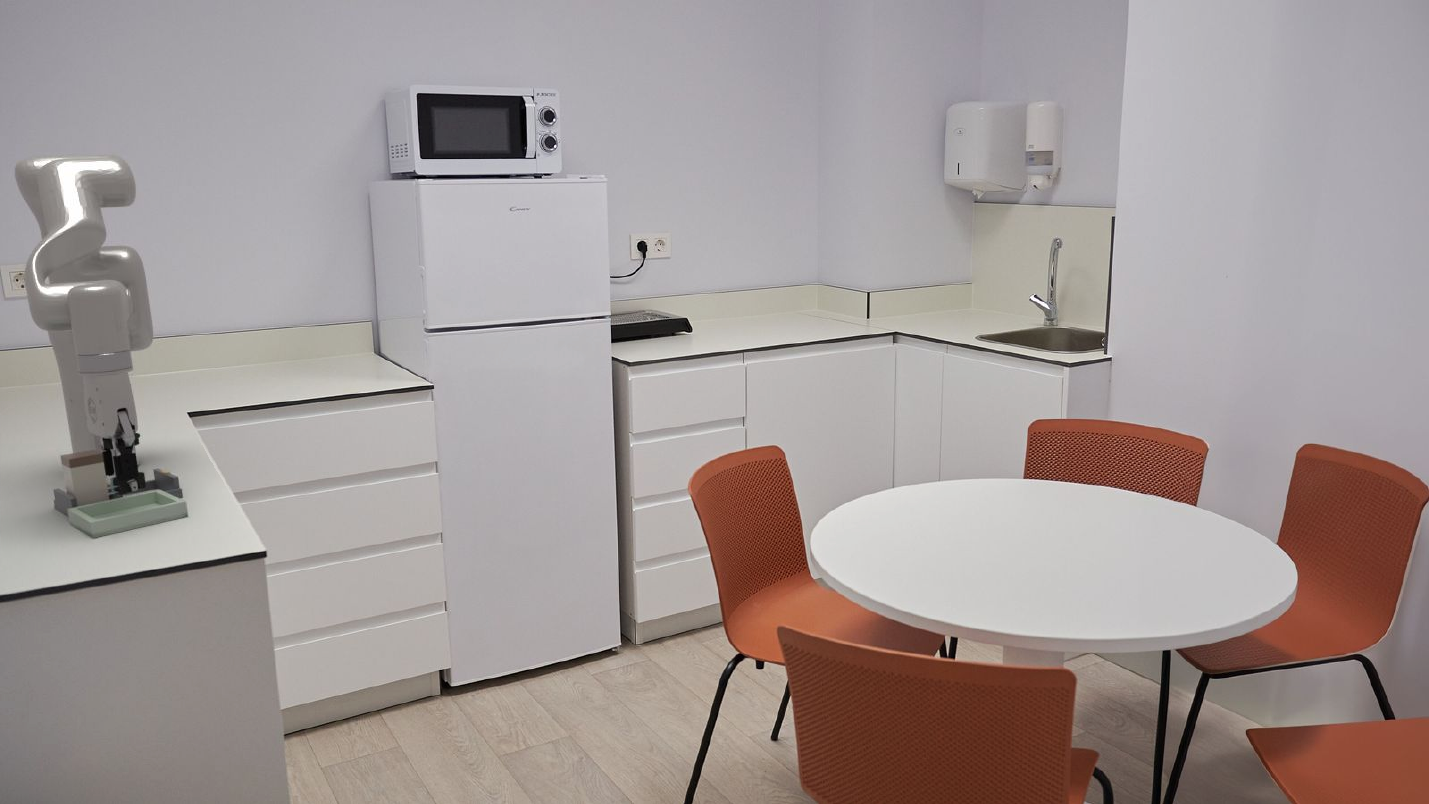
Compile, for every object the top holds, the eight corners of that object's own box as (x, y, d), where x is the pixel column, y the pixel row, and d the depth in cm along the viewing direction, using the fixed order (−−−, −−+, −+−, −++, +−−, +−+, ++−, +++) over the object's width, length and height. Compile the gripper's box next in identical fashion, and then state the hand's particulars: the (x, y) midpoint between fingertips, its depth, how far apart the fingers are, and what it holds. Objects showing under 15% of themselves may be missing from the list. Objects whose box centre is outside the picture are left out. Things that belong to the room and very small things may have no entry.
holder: (54, 508, 186) (51, 486, 185) (158, 486, 197) (155, 466, 197) (75, 520, 178) (72, 498, 177) (183, 497, 189) (180, 476, 188)
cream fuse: (69, 510, 184) (60, 455, 182) (102, 503, 188) (93, 449, 186) (77, 515, 181) (68, 459, 179) (111, 508, 184) (102, 453, 183)
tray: (69, 523, 176) (67, 508, 175) (161, 503, 186) (159, 489, 185) (93, 538, 168) (90, 522, 167) (188, 516, 177) (186, 501, 177)
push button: (120, 499, 172) (111, 436, 170) (94, 496, 173) (85, 435, 171) (154, 487, 178) (146, 427, 176) (129, 485, 180) (121, 425, 178)
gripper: (62, 362, 175) (80, 473, 178) (95, 371, 163) (114, 490, 167) (113, 356, 180) (129, 464, 184) (149, 364, 168) (166, 479, 172)
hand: (122, 475), depth 175 cm, fingers closed on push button, 4 cm apart
